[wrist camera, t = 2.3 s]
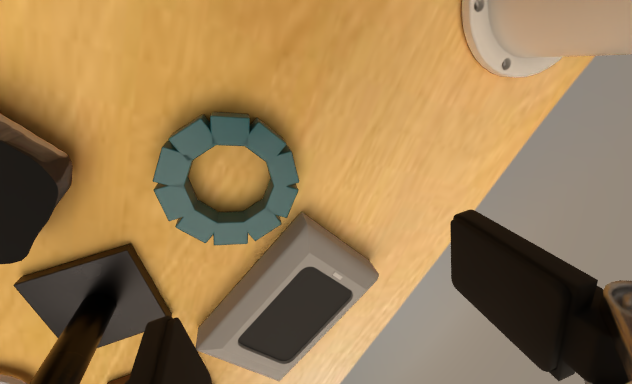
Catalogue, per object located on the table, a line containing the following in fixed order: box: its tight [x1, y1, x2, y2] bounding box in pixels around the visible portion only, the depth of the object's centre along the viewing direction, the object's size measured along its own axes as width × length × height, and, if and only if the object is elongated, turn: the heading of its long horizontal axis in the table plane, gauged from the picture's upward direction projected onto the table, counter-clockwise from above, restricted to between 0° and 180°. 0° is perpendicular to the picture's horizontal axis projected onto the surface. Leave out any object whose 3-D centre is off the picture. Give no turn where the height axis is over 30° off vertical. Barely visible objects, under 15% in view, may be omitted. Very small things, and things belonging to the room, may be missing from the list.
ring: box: [153, 112, 299, 245], centre depth 23 cm, size 10×10×2 cm
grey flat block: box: [196, 212, 379, 381], centre depth 28 cm, size 10×4×15 cm
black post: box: [14, 244, 172, 384], centre depth 21 cm, size 8×8×9 cm
